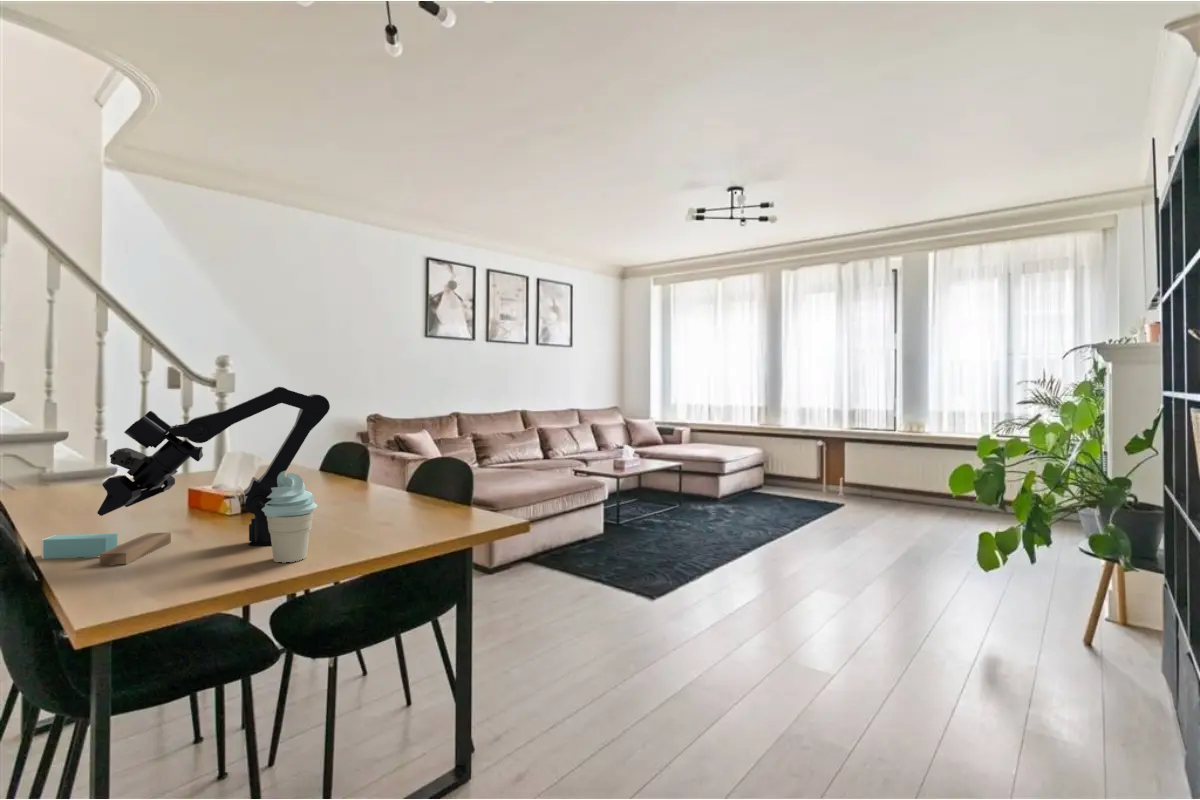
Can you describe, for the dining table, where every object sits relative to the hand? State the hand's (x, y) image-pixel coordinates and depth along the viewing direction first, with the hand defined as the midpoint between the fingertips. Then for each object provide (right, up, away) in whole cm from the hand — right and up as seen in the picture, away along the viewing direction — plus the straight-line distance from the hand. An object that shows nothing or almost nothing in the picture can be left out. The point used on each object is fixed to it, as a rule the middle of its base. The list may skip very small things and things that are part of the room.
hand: (112, 509), depth 137 cm
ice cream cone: (+41, -11, -1) cm, 42 cm away
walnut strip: (+5, -10, +1) cm, 11 cm away
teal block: (0, -8, 0) cm, 8 cm away
